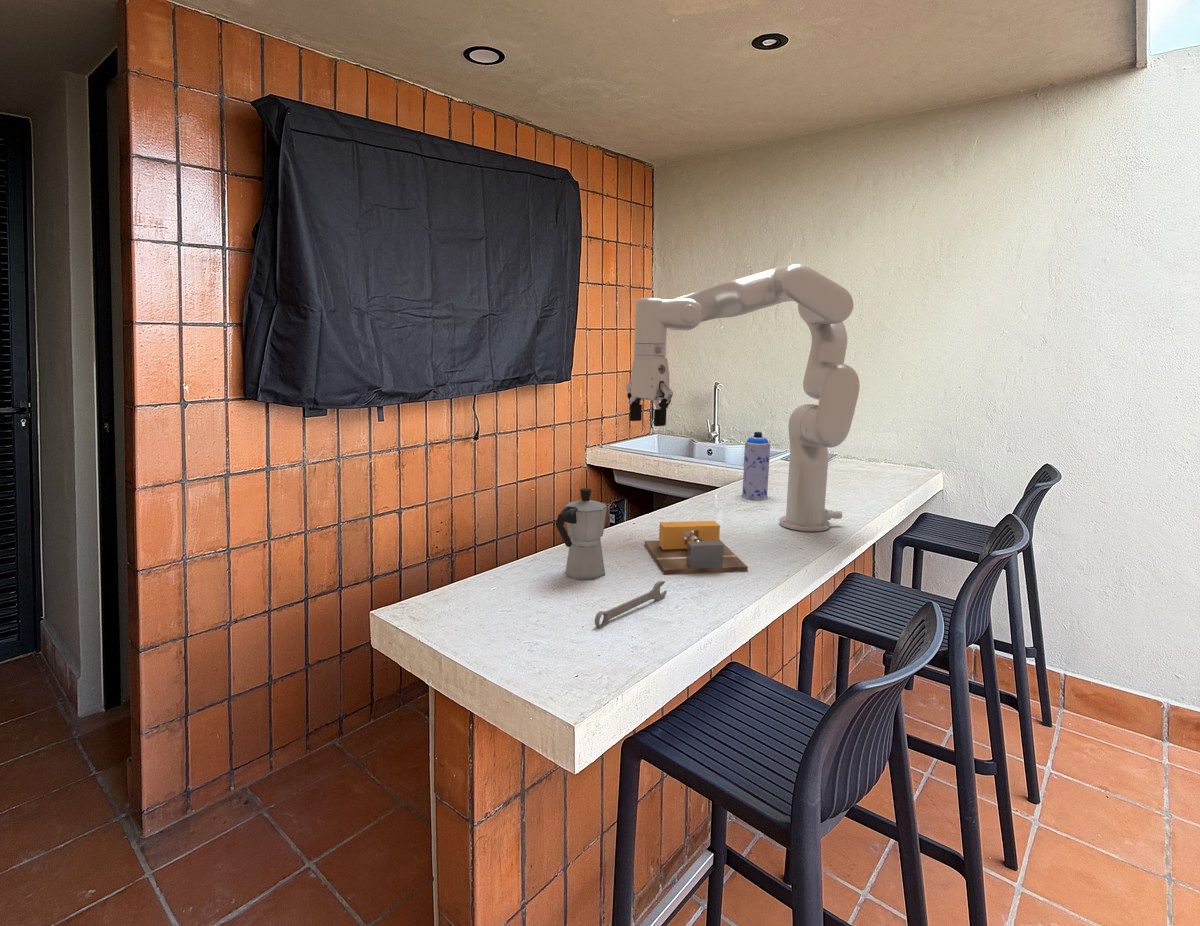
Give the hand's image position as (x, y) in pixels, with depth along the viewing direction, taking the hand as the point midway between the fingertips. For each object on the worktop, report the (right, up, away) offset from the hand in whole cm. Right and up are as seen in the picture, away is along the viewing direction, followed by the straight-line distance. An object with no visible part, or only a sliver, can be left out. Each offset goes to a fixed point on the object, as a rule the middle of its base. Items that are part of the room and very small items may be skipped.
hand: (647, 423), depth 168 cm
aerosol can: (+36, -20, +44) cm, 60 cm away
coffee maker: (-15, -33, -24) cm, 43 cm away
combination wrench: (-5, -37, -42) cm, 56 cm away
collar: (+9, -29, -9) cm, 31 cm away
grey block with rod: (+10, -30, -13) cm, 34 cm away
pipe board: (+9, -31, -12) cm, 34 cm away
